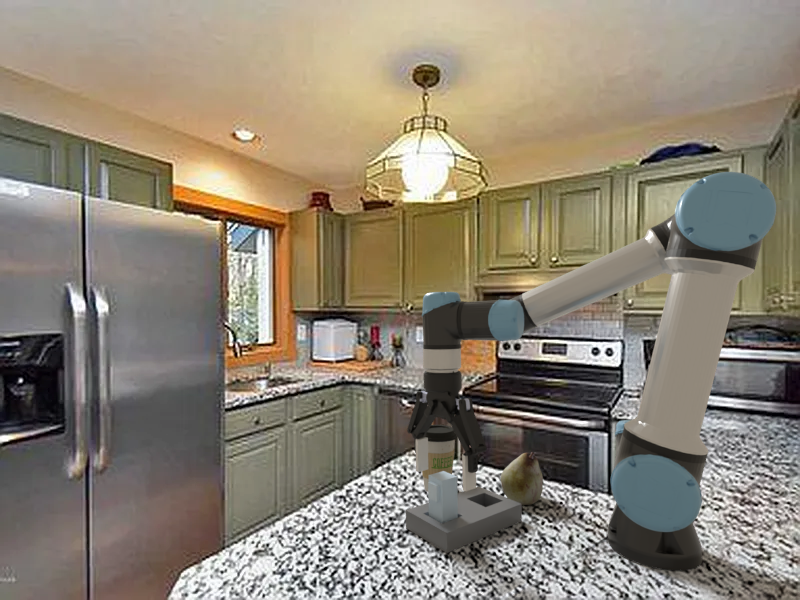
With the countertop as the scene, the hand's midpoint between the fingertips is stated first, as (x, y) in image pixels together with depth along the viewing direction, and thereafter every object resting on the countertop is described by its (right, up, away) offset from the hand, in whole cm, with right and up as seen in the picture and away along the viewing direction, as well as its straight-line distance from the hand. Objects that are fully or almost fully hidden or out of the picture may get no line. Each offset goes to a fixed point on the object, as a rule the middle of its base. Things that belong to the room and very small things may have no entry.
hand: (444, 479), depth 88 cm
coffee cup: (0, -12, +23) cm, 26 cm away
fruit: (+19, -12, +16) cm, 28 cm away
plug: (0, -10, 0) cm, 10 cm away
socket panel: (+4, -11, +3) cm, 12 cm away
